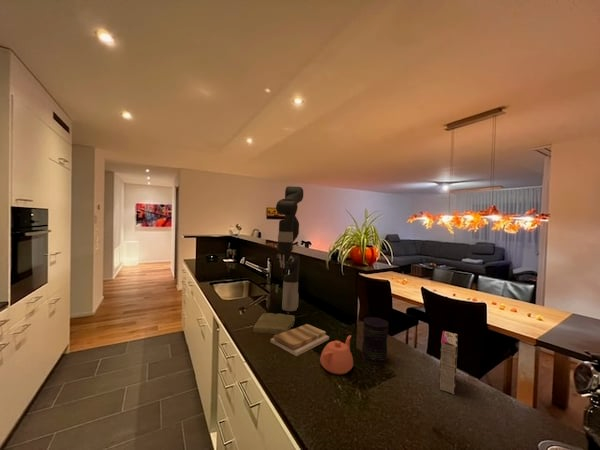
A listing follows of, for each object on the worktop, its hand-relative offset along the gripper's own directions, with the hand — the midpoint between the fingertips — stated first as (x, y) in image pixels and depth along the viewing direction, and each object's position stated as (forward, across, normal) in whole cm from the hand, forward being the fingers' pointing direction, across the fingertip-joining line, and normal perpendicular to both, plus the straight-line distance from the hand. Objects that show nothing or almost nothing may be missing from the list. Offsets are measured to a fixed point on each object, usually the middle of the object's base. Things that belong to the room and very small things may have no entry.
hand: (283, 275), depth 128 cm
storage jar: (+27, -45, -10) cm, 54 cm away
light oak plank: (+25, -15, -6) cm, 30 cm away
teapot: (+27, -38, +6) cm, 47 cm away
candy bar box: (+27, -71, -13) cm, 77 cm away
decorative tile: (+28, +5, -1) cm, 28 cm away
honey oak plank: (+25, -15, +6) cm, 30 cm away
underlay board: (+27, -15, +2) cm, 31 cm away
